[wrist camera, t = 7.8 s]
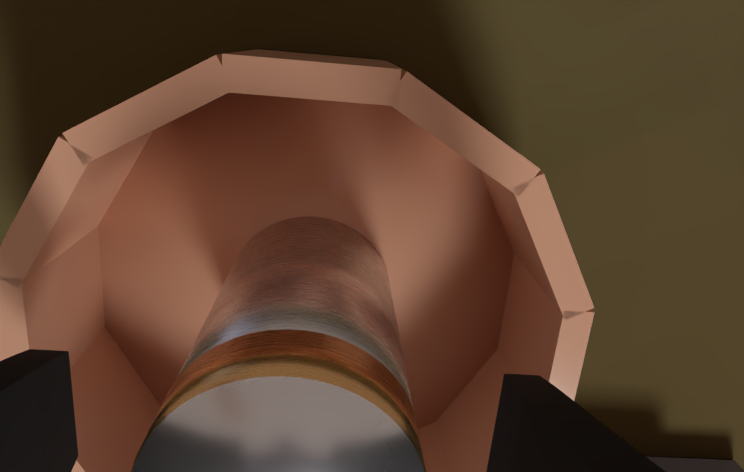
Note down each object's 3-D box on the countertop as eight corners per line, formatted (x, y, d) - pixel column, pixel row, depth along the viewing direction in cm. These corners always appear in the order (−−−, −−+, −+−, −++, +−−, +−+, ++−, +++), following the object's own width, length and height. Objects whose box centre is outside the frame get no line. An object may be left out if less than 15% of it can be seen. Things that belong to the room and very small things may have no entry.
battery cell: (231, 364, 15) (141, 623, 8) (223, 213, 14) (109, 379, 7) (387, 364, 15) (420, 617, 9) (394, 217, 14) (440, 380, 7)
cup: (101, 450, 16) (27, 575, 13) (68, 32, 13) (-48, 30, 9) (490, 466, 17) (530, 588, 13) (561, 75, 14) (645, 90, 10)
